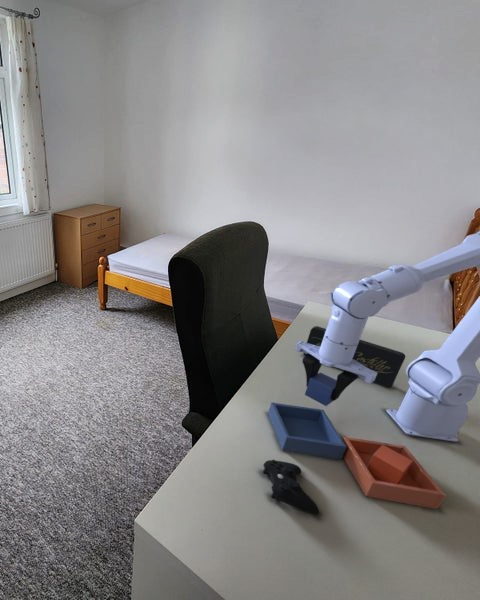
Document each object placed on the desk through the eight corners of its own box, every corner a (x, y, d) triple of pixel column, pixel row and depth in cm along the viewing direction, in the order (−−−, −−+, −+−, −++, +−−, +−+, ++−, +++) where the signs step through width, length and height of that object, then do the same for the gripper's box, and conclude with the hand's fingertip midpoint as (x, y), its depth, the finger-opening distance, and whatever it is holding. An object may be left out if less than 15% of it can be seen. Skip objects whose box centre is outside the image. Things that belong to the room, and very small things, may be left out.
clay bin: (398, 458, 69) (405, 445, 67) (437, 509, 59) (446, 495, 58) (338, 449, 71) (343, 436, 69) (365, 496, 61) (372, 482, 60)
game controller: (325, 513, 57) (293, 491, 56) (300, 526, 59) (269, 505, 59) (302, 466, 66) (275, 446, 65) (281, 478, 68) (254, 459, 67)
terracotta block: (403, 478, 64) (412, 460, 62) (394, 489, 62) (403, 472, 60) (374, 461, 68) (382, 444, 66) (365, 471, 65) (373, 454, 64)
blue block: (336, 399, 75) (342, 382, 73) (326, 406, 73) (332, 389, 71) (314, 388, 79) (320, 372, 77) (304, 394, 77) (309, 378, 75)
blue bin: (319, 421, 78) (323, 409, 77) (341, 459, 68) (346, 447, 67) (267, 414, 80) (271, 402, 79) (282, 450, 71) (286, 437, 69)
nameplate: (302, 355, 103) (311, 327, 99) (304, 353, 105) (313, 325, 101) (390, 388, 89) (405, 356, 85) (392, 385, 90) (406, 354, 86)
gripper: (294, 329, 74) (279, 380, 79) (375, 361, 62) (350, 418, 68) (311, 321, 77) (295, 371, 82) (390, 350, 66) (366, 405, 71)
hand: (321, 391), depth 75 cm, fingers closed on blue block, 4 cm apart
